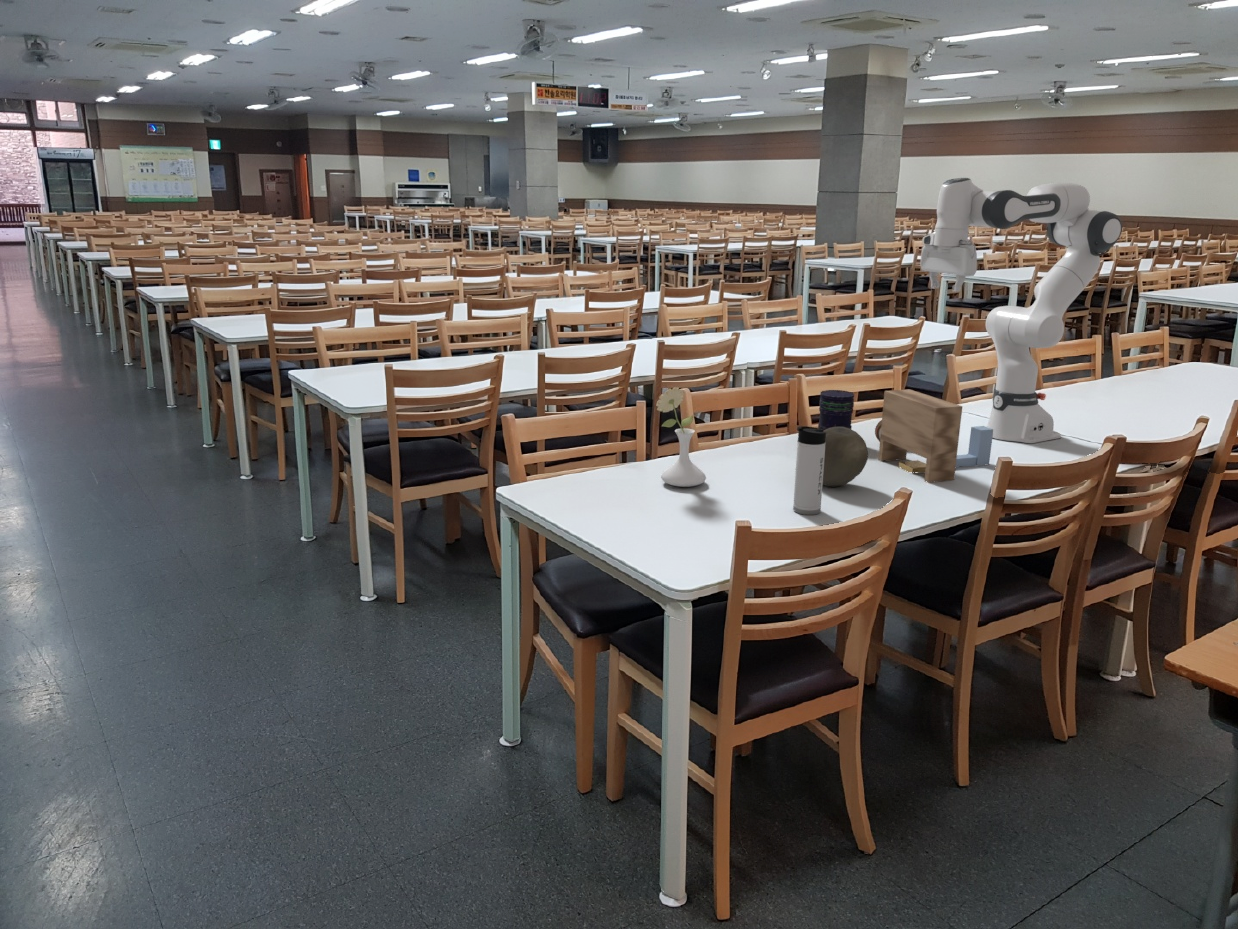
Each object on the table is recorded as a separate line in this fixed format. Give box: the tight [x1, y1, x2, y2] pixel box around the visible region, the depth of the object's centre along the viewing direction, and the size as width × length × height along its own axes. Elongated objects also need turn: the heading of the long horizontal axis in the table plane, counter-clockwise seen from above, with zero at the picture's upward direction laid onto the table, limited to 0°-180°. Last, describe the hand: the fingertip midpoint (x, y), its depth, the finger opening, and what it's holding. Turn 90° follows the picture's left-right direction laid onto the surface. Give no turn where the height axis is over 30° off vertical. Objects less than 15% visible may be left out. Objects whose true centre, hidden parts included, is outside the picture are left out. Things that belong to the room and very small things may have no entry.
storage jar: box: [817, 389, 855, 431], centre depth 272 cm, size 10×10×15 cm
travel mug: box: [792, 425, 826, 516], centre depth 212 cm, size 6×7×20 cm
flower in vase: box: [655, 386, 707, 488], centre depth 230 cm, size 13×11×25 cm
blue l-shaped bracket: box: [956, 425, 993, 468], centre depth 251 cm, size 16×4×10 cm, turn 109°
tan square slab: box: [898, 459, 926, 473], centre depth 248 cm, size 6×6×2 cm
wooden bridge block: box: [877, 389, 963, 483], centre depth 245 cm, size 8×22×20 cm, turn 19°
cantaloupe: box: [822, 427, 869, 488], centre depth 232 cm, size 14×14×15 cm
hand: (945, 290), depth 259 cm, fingers open, 8 cm apart
